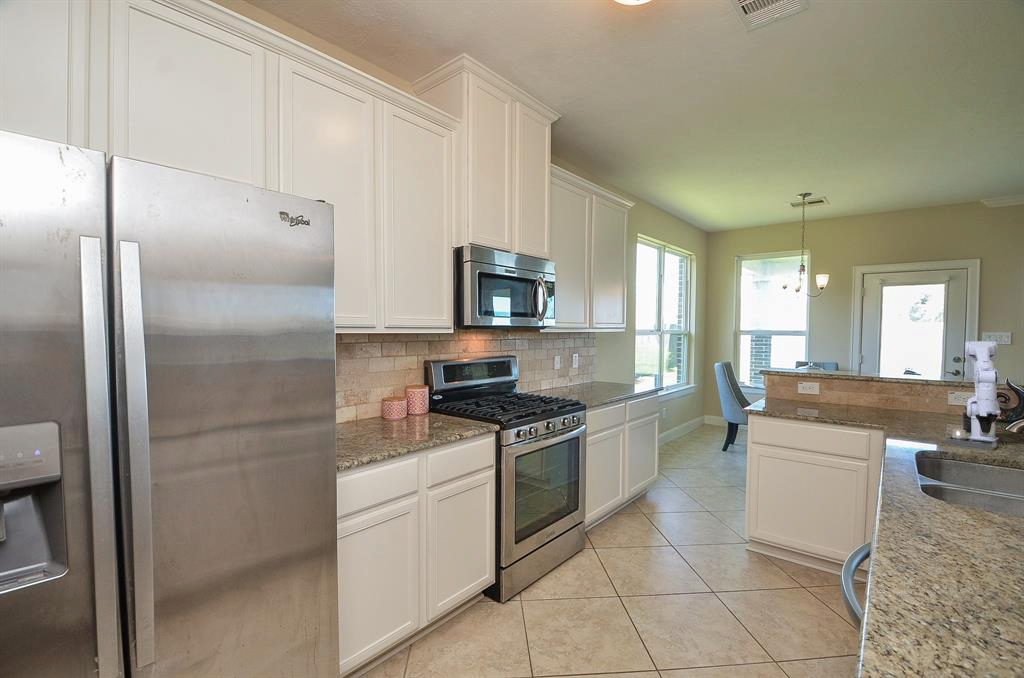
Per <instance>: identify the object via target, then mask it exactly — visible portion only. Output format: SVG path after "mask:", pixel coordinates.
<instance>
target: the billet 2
mask: <svg viewBox="0 0 1024 678" xmlns="http://www.w3.org/2000/svg"><path fill="white" fill-rule="evenodd" d="M980 436H984V437H994V422H992V425H991V430H990V433H984V432H982V431H981V427H980Z"/></svg>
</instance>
